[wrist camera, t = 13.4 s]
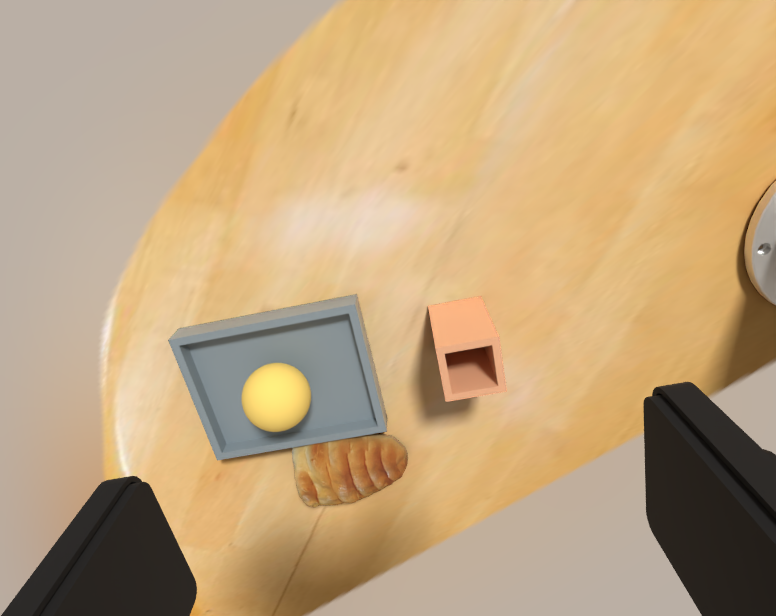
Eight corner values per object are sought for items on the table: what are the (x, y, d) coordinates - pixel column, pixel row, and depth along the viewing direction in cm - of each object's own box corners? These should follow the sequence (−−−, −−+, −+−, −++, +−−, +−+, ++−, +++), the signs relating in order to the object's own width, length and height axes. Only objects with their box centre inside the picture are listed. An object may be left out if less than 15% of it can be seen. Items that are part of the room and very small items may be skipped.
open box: (481, 296, 38) (499, 336, 32) (488, 343, 40) (506, 391, 33) (427, 306, 39) (435, 348, 32) (436, 352, 40) (445, 401, 34)
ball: (307, 346, 39) (291, 380, 34) (323, 401, 41) (311, 441, 36) (245, 356, 40) (221, 391, 35) (264, 410, 42) (244, 450, 37)
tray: (356, 294, 38) (355, 304, 37) (387, 416, 42) (386, 431, 41) (178, 328, 40) (168, 339, 38) (224, 444, 44) (217, 460, 42)
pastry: (398, 412, 43) (399, 441, 39) (414, 475, 45) (416, 508, 42) (289, 432, 43) (280, 462, 40) (311, 494, 46) (304, 527, 42)
